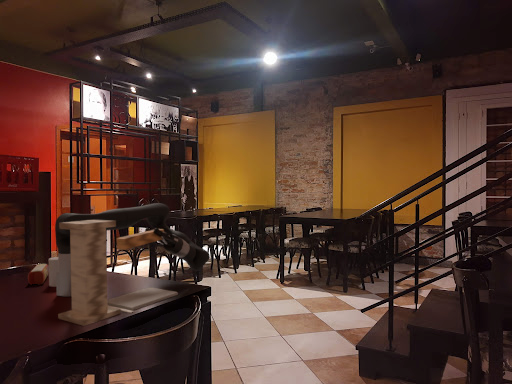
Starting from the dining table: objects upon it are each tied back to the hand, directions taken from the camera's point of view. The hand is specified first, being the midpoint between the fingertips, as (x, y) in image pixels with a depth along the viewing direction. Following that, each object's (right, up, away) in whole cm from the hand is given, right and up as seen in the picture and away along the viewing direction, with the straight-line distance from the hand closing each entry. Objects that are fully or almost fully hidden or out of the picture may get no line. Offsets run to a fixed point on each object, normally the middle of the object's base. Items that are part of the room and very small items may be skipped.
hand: (150, 230), depth 154 cm
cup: (-47, -27, +22) cm, 59 cm away
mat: (-2, -26, -4) cm, 27 cm away
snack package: (-62, -27, +31) cm, 74 cm away
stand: (-14, -27, -23) cm, 38 cm away
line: (-9, -27, -15) cm, 32 cm away
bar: (-2, -5, -4) cm, 7 cm away
